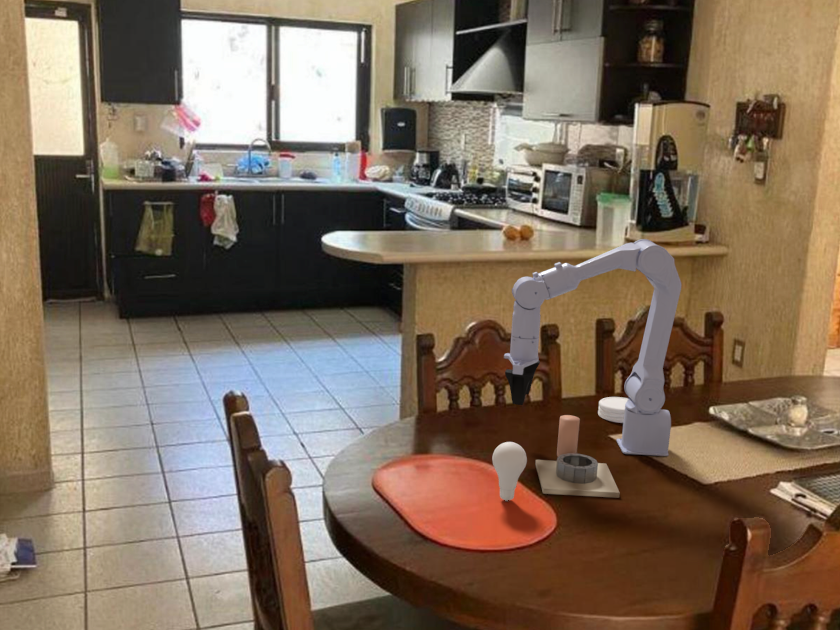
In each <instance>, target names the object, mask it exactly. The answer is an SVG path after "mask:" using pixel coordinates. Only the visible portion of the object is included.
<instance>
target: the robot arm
mask: <svg viewBox="0 0 840 630" xmlns="http://www.w3.org/2000/svg"><path fill="white" fill-rule="evenodd" d="M553 265H554V266H553V267H552V268H549V269H546V270H544V271H541V272H538V271H535V272H532V276H522V277H520V278H518V279H517V280H516V282H515V283H514V284H513V287H512V288H511V293H512V297H513V298H514V299H515V300H514V302H513V308H512V309H513V312H512V319H511V320H512V321H511V331H510V332H511V334H510V336H511V337H510V349H509V352H507V353H504V355H503V359H506V360H509V361H510V363H511V365H512V369H509V368H508V369H506V370H505V371H504V374H505V377H506V380H507V382H508V385H509V391H510V397H511V402H512V405H517V406H523V404H524V403H525V400H526V396H527V395H529V393H530V391H531V387H532V384H533V380H534V376H535V374H536V371H537V369H538V367H539V365H540V364H541V361H540V360H539V345H540V330H541V329H540V328H541V317H542V316H541V306H542V305H543V303H544V302H545V300H550V299H554V298H556V297H559V296H561V295H564V294H567V293H569V292H572V291H574V290H577V289H578V287H579V284H580V283H581V281H584V280H587V279H590V278H594V277H596V276H599V275H602V274H604V273H608V272H611V271H614V270H618V269H621V270H626V271H630V272H636V271H637V270H638V272H640V273H642V274H643V275H644V276H645V278H646V280H648V282H649V283H650V285H651V286H652V287H653V293H652V297H651V303H650V307H649V311H648V314H647V320H646V324H645V329H644V332H643V338H642V342H641V346H640V351H639V355H638V359H637V361H636V362H635V364H634V365H633V366H632V371H631V373H630V375H629V376H628V377H627V379H626V380H625V382H624V392H625V394H626V396H628V397H627V398H628V401H627V402H626V404H625V412H624V422H623V423H622V431H621V432H622V433H621V434H622V435H621V438H616V440H615V441H616V443H617V445H618V446H619V448H620V450H621V452H622V453H623V454H625V455H637V456H638V455H640V456H641V455H642V456H659V457H669V455H670V454H669V445H670V440H671V439H670V437H671V430H672V417H671V416H672V415H671V414H670V411H669V410H668V409H662V407H663V406H664V404H665V401H666V394H665V391H664V385H665V375H664V369H663V368H664V364H665V360H666V356H667V351H668V347H669V342H670V337H671V334H672V329H673V325H674V321H675V316H676V313H677V309H678V304H679V300H680V295H681V291H682V281H681V278H680V276H679V272H678V270H677V266H676V264H675V258H674V257H673V256H672V255H671V253H670V252H669V251H668V250H667V249H666V248H665V247H663V246H661V245H658V244H656V243H655V242H653V241H652V240H650V239H647V238H641V239H637V240H635V241H634V242H626V243H624V244H622V245H620V246H618V247H615V248H613V249H611V250H608V251H606V252H604V253H601V254H598V255H597V256H595V257H592V258H589V259H587V260H585V261H583V262H581V263H578V264H576V265H573V264H570V263H568V262H564V263H562V262H560V261H558V262H555V263H554V264H553Z"/></svg>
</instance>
